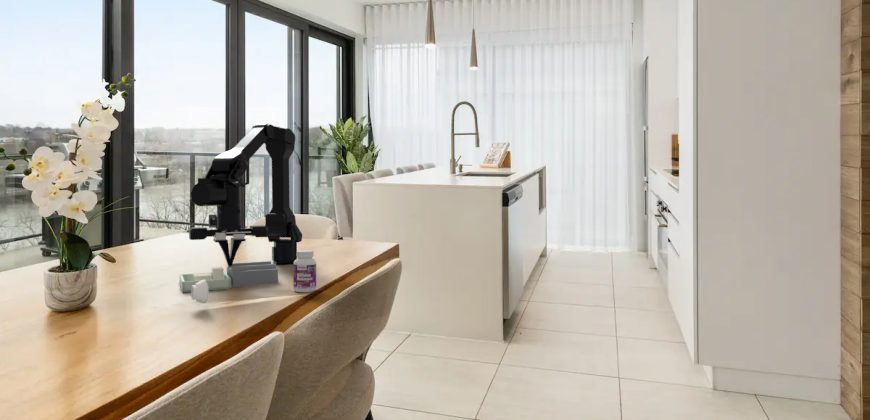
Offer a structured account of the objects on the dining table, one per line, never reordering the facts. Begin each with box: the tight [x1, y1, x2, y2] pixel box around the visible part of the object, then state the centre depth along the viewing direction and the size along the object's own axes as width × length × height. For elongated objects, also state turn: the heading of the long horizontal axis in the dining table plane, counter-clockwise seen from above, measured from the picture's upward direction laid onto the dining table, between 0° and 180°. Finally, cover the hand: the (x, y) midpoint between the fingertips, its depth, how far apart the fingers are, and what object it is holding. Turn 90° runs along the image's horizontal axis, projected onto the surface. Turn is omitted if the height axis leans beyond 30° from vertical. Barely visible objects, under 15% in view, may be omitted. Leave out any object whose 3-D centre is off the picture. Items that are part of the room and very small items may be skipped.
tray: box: [179, 271, 232, 293], centre depth 142 cm, size 11×14×2 cm
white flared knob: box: [190, 280, 210, 304], centre depth 120 cm, size 5×3×5 cm, turn 33°
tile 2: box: [210, 266, 225, 280], centre depth 143 cm, size 4×4×2 cm
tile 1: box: [192, 272, 212, 281], centre depth 141 cm, size 4×4×2 cm
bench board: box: [226, 260, 279, 288], centre depth 147 cm, size 11×12×5 cm
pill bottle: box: [292, 249, 317, 293], centre depth 135 cm, size 5×5×10 cm
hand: (229, 265), depth 144 cm, fingers closed
